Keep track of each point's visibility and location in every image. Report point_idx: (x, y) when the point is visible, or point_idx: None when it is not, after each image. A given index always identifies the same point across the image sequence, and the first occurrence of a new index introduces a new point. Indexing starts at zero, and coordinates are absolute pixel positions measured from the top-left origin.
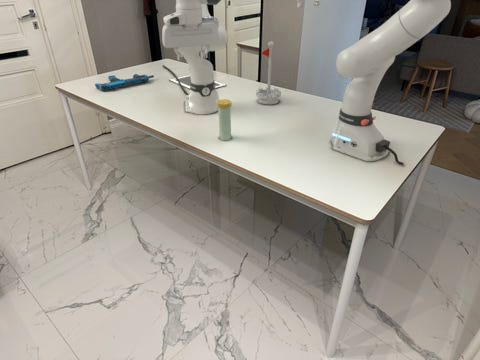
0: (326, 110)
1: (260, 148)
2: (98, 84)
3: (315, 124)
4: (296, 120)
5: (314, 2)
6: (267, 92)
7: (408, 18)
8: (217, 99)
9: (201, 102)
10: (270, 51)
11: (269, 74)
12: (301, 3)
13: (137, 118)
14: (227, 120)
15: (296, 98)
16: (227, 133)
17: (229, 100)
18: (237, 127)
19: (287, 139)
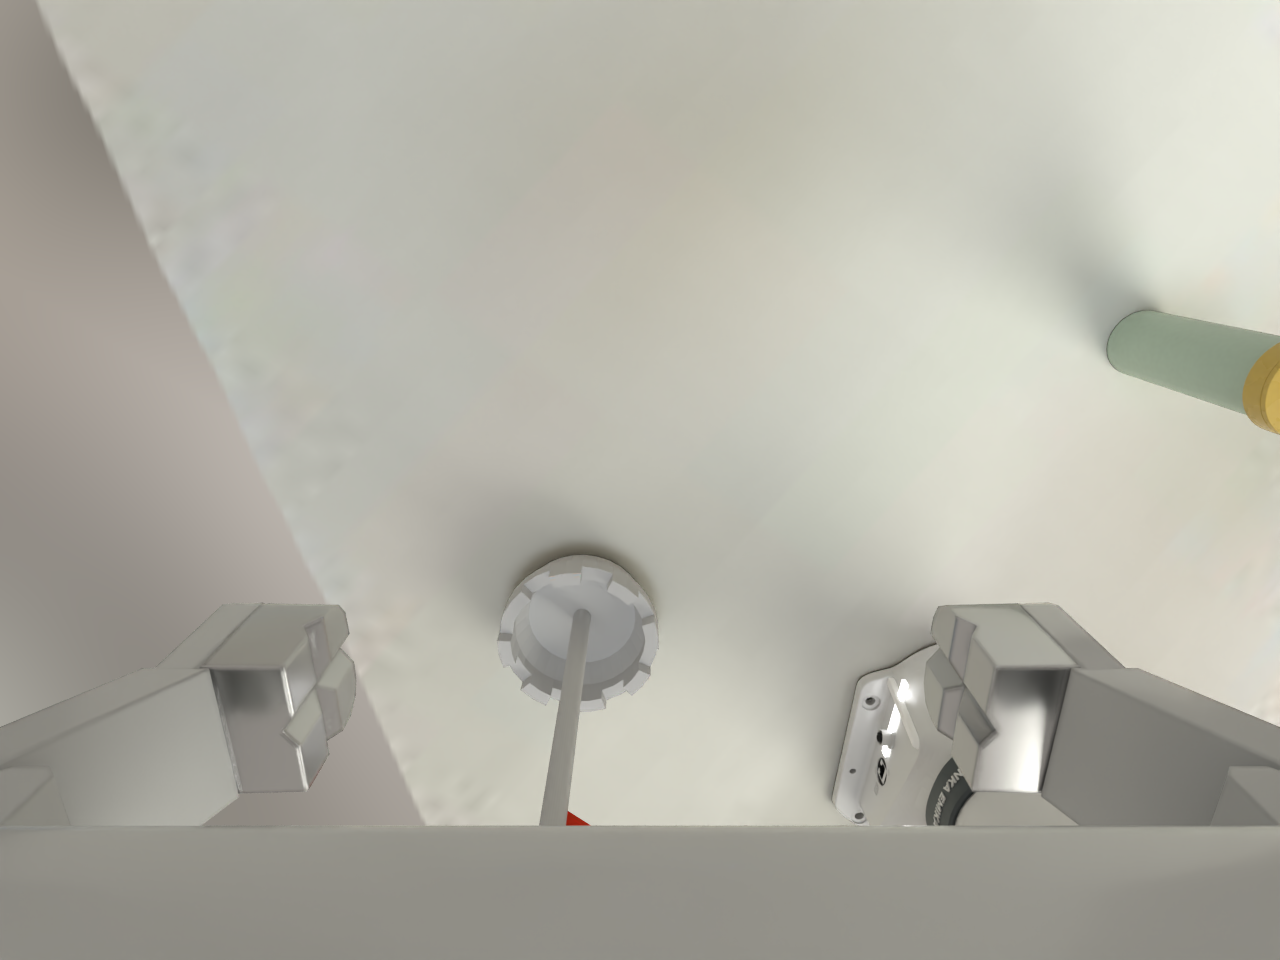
0: (372, 288)
1: (1105, 107)
2: None
3: (598, 161)
4: (651, 285)
5: (326, 737)
6: (587, 641)
7: None
8: (915, 704)
9: None
10: None
11: (575, 708)
12: (1049, 645)
13: None
14: (1239, 328)
15: (403, 549)
16: (1179, 316)
17: (1274, 390)
18: (991, 414)
19: (900, 100)
